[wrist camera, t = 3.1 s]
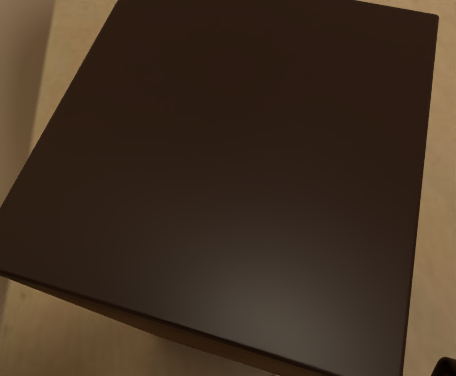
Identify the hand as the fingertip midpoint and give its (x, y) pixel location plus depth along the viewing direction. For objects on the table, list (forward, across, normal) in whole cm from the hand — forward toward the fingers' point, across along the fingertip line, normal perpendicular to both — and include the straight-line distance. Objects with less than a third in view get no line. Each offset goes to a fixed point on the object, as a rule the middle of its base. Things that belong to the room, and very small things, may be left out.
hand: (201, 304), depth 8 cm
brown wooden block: (+8, 0, +5) cm, 10 cm away
